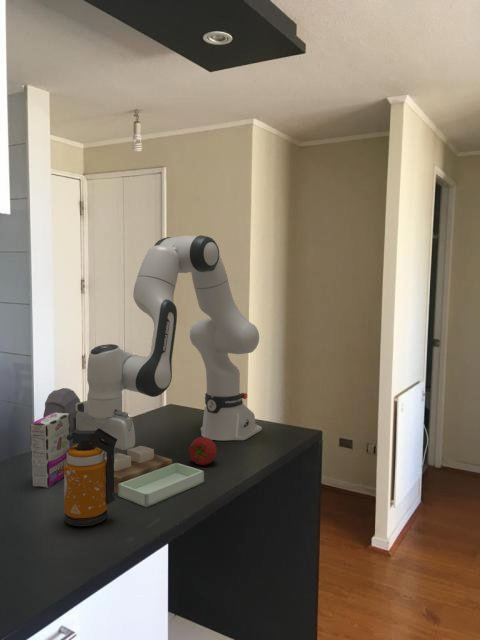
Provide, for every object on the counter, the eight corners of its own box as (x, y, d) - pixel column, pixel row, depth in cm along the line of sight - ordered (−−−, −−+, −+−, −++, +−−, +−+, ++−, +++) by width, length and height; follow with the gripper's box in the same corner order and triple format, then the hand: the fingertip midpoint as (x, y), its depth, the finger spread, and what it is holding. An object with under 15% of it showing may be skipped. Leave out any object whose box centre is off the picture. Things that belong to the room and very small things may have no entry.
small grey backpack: (65, 446, 169) (64, 382, 168) (90, 448, 168) (90, 384, 166) (39, 462, 155) (38, 392, 153) (66, 464, 153) (65, 394, 152)
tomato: (207, 430, 159) (196, 432, 152) (225, 449, 157) (215, 452, 149) (190, 449, 160) (178, 452, 153) (207, 469, 158) (196, 473, 150)
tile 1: (118, 461, 144) (118, 452, 144) (131, 466, 141) (131, 456, 141) (103, 466, 140) (103, 457, 140) (115, 471, 137) (115, 461, 137)
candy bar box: (54, 471, 148) (53, 411, 146) (71, 473, 147) (70, 413, 145) (30, 486, 137) (29, 422, 135) (48, 488, 136) (47, 423, 134)
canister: (70, 511, 123) (69, 424, 121) (119, 510, 124) (119, 423, 122) (59, 529, 114) (58, 435, 113) (113, 528, 115) (113, 435, 113)
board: (141, 464, 154) (141, 450, 154) (172, 474, 147) (172, 459, 147) (89, 482, 140) (88, 467, 140) (119, 494, 133) (119, 478, 133)
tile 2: (141, 454, 151) (141, 445, 150) (153, 458, 148) (153, 449, 147) (127, 459, 147) (127, 449, 146) (139, 463, 144) (139, 453, 143)
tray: (176, 473, 148) (176, 462, 147) (204, 482, 141) (204, 471, 141) (117, 496, 132) (117, 484, 132) (146, 507, 126) (146, 494, 125)
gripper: (141, 411, 139) (141, 464, 140) (91, 399, 151) (91, 448, 152) (121, 416, 134) (121, 471, 135) (71, 403, 146) (71, 453, 147)
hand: (105, 459), depth 144 cm, fingers closed
